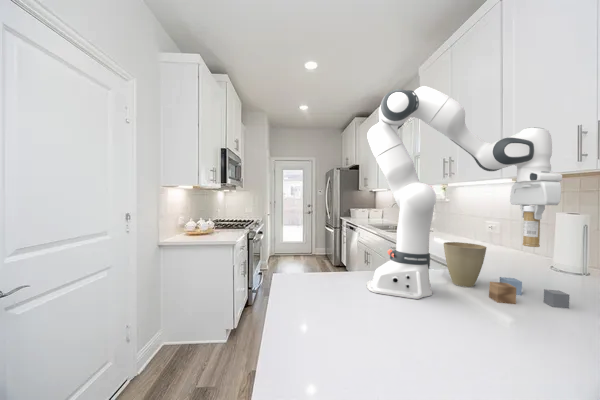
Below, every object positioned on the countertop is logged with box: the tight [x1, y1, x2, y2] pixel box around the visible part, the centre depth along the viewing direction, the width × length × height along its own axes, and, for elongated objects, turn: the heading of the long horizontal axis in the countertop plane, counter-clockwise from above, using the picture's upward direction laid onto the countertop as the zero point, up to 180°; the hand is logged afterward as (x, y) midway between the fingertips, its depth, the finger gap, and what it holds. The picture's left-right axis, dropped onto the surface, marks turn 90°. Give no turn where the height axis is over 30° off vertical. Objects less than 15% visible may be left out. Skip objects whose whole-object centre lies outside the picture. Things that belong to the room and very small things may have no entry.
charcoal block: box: [543, 288, 570, 310], centre depth 93 cm, size 4×4×4 cm
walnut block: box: [488, 281, 517, 305], centre depth 96 cm, size 6×6×6 cm
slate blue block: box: [498, 276, 523, 296], centre depth 105 cm, size 5×5×5 cm
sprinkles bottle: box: [522, 205, 541, 248], centre depth 94 cm, size 5×5×13 cm
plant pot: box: [443, 241, 487, 288], centre depth 113 cm, size 15×15×16 cm
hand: (531, 218), depth 94 cm, fingers closed on sprinkles bottle, 4 cm apart
